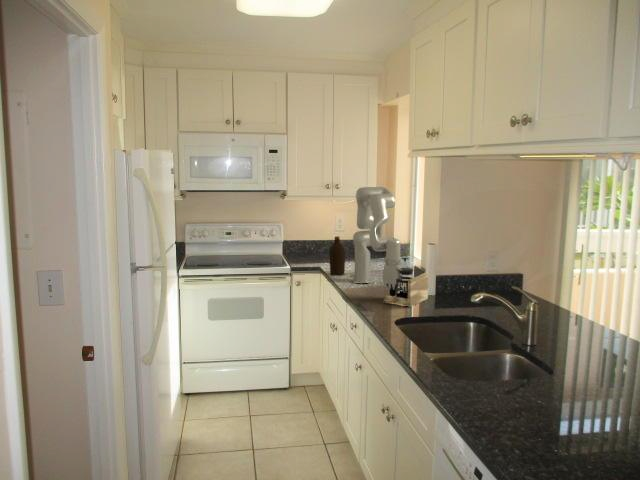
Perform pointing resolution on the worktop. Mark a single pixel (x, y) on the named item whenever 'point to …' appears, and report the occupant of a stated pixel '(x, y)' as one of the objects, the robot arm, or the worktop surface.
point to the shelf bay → (413, 291)
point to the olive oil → (337, 258)
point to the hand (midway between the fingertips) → (392, 296)
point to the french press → (403, 281)
